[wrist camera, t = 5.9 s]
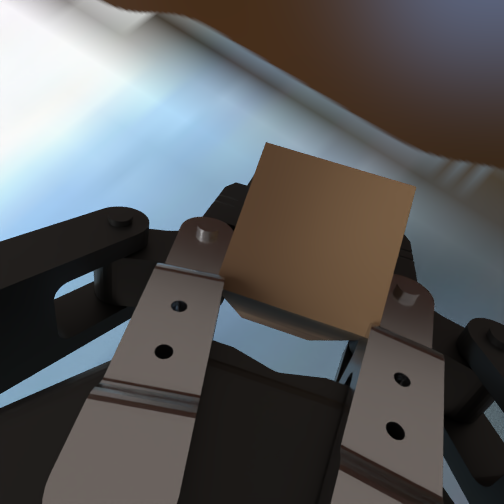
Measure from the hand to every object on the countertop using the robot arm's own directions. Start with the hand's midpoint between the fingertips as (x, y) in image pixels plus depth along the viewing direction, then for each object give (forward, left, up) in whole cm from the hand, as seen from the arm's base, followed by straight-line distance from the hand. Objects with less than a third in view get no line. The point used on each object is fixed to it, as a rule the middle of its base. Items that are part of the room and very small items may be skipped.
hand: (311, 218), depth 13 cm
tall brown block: (0, +2, -5) cm, 5 cm away
